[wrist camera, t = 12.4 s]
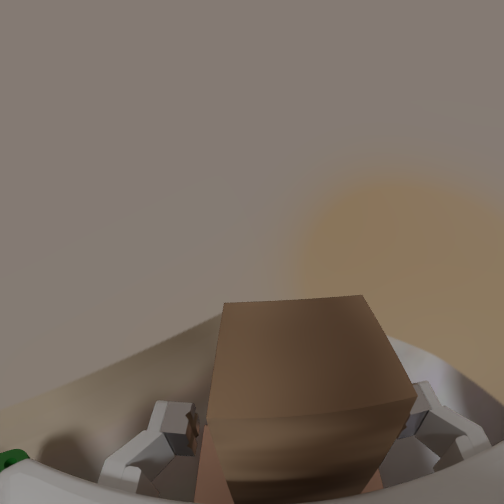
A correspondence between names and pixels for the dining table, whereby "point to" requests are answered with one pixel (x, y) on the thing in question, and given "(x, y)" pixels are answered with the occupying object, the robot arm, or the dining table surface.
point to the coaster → (214, 483)
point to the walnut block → (304, 399)
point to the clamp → (11, 458)
